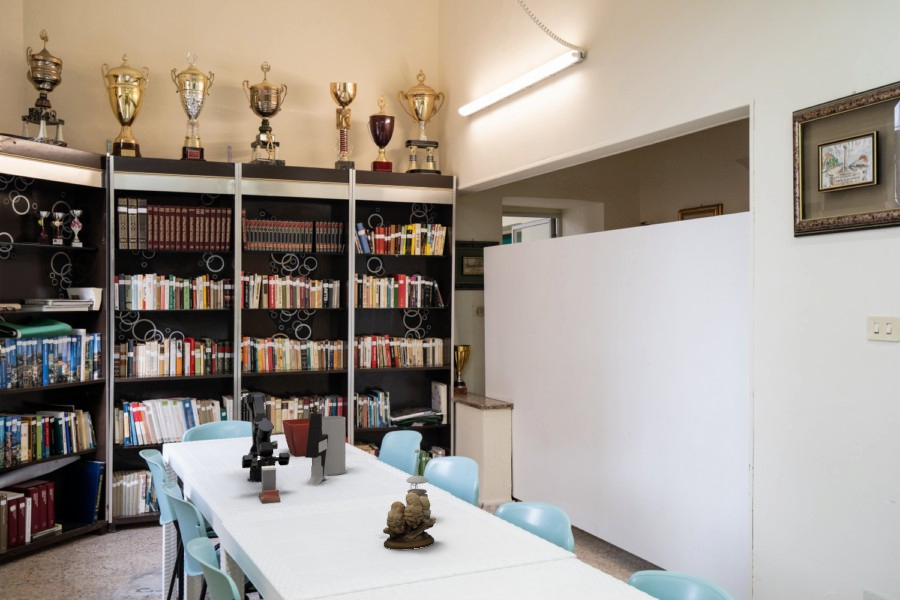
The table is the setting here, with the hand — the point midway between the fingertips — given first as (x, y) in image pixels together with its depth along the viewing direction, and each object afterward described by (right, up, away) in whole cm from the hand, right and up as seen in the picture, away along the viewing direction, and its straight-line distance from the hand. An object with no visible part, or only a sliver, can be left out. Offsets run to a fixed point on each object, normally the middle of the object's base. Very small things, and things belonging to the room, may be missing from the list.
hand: (267, 477), depth 321 cm
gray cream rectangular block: (+1, -6, -2) cm, 6 cm away
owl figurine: (+60, -8, -60) cm, 86 cm away
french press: (+61, -8, -29) cm, 68 cm away
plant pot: (-2, -8, +90) cm, 91 cm away
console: (+1, -8, -3) cm, 9 cm away
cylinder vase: (+19, -8, +45) cm, 50 cm away
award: (+15, -8, +27) cm, 32 cm away
